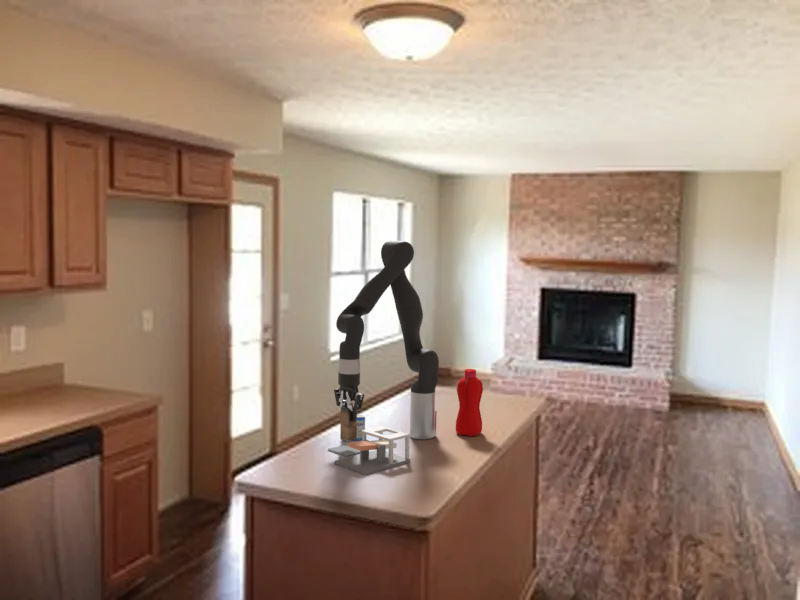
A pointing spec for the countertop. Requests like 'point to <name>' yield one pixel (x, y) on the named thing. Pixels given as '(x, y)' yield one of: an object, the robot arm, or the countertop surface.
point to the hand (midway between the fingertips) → (348, 420)
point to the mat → (344, 450)
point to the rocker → (370, 444)
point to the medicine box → (360, 427)
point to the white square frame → (377, 453)
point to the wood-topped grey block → (347, 425)
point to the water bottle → (469, 404)
